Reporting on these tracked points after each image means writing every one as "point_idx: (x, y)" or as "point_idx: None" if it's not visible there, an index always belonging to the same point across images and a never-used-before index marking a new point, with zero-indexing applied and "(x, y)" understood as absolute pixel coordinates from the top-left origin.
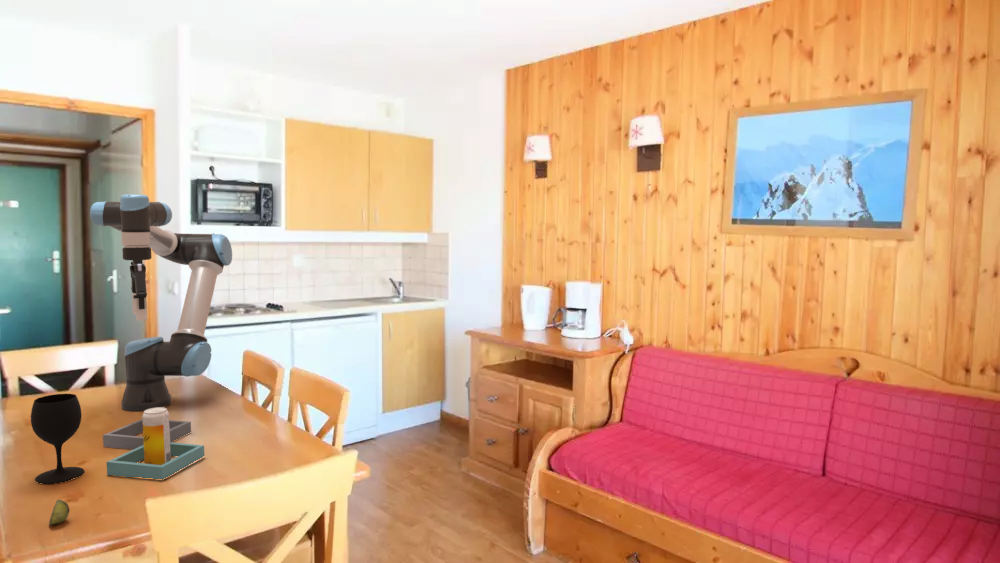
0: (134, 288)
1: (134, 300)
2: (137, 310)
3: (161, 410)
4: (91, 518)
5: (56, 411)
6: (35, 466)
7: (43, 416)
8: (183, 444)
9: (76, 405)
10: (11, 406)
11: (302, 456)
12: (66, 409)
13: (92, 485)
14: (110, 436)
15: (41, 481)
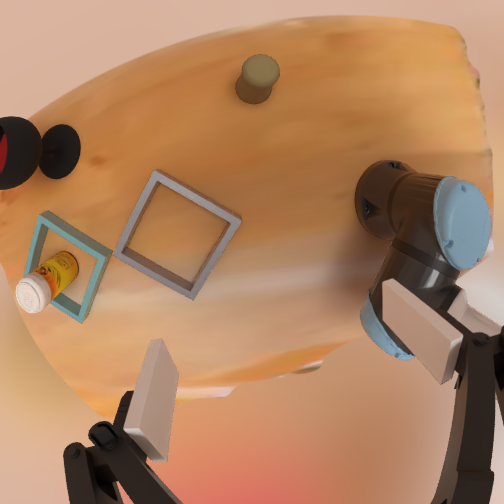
0: (465, 376)
1: (424, 326)
2: (142, 378)
3: (30, 305)
4: None
5: None
6: (102, 101)
7: None
8: (85, 300)
9: None
10: (425, 23)
11: (91, 396)
12: None
13: (27, 203)
14: (147, 184)
15: (42, 139)
